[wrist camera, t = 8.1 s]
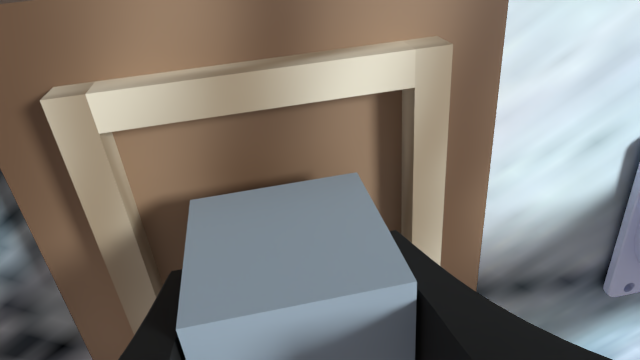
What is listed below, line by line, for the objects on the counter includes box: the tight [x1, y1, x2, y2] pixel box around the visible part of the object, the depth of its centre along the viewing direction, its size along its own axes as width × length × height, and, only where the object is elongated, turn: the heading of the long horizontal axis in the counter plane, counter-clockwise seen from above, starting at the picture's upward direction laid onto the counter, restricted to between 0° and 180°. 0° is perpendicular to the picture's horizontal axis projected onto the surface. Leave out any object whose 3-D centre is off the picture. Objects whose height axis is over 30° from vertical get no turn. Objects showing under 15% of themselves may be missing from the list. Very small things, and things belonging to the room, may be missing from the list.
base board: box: [0, 0, 509, 360], centre depth 15 cm, size 14×14×2 cm
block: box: [176, 172, 417, 360], centre depth 12 cm, size 4×4×4 cm
